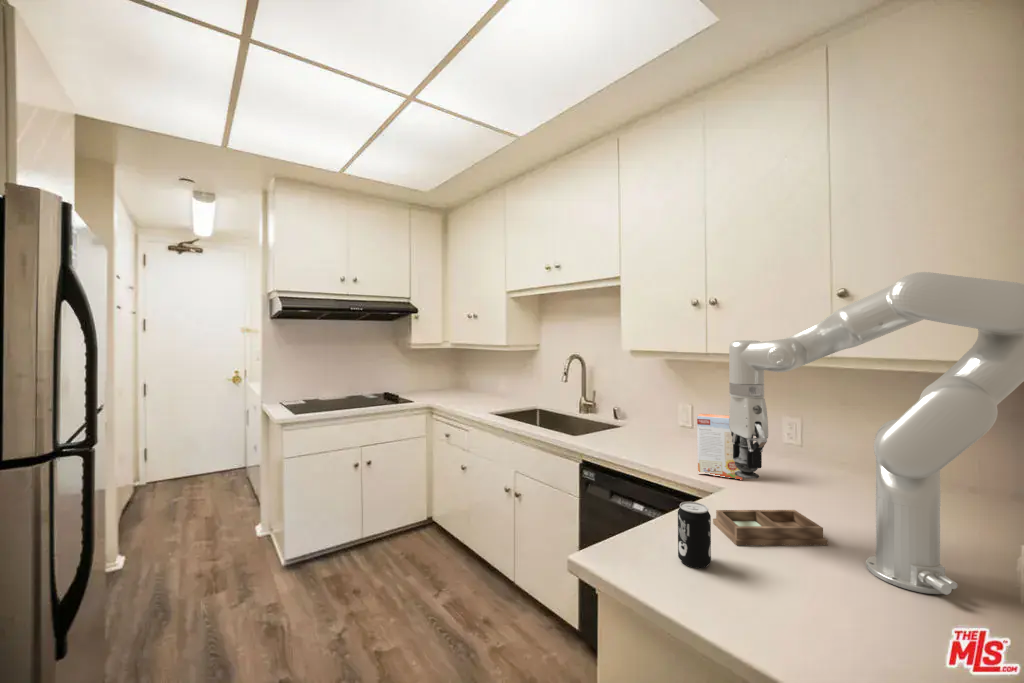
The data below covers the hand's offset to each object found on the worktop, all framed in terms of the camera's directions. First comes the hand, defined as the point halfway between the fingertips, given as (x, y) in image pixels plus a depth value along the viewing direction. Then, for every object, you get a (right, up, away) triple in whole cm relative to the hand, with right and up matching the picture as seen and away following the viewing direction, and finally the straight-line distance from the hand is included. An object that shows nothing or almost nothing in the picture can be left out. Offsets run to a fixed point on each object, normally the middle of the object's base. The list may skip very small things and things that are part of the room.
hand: (746, 463), depth 105 cm
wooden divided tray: (+5, -17, 0) cm, 18 cm away
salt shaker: (0, -3, 0) cm, 3 cm away
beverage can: (-18, -18, -12) cm, 29 cm away
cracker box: (+15, -17, +44) cm, 49 cm away
